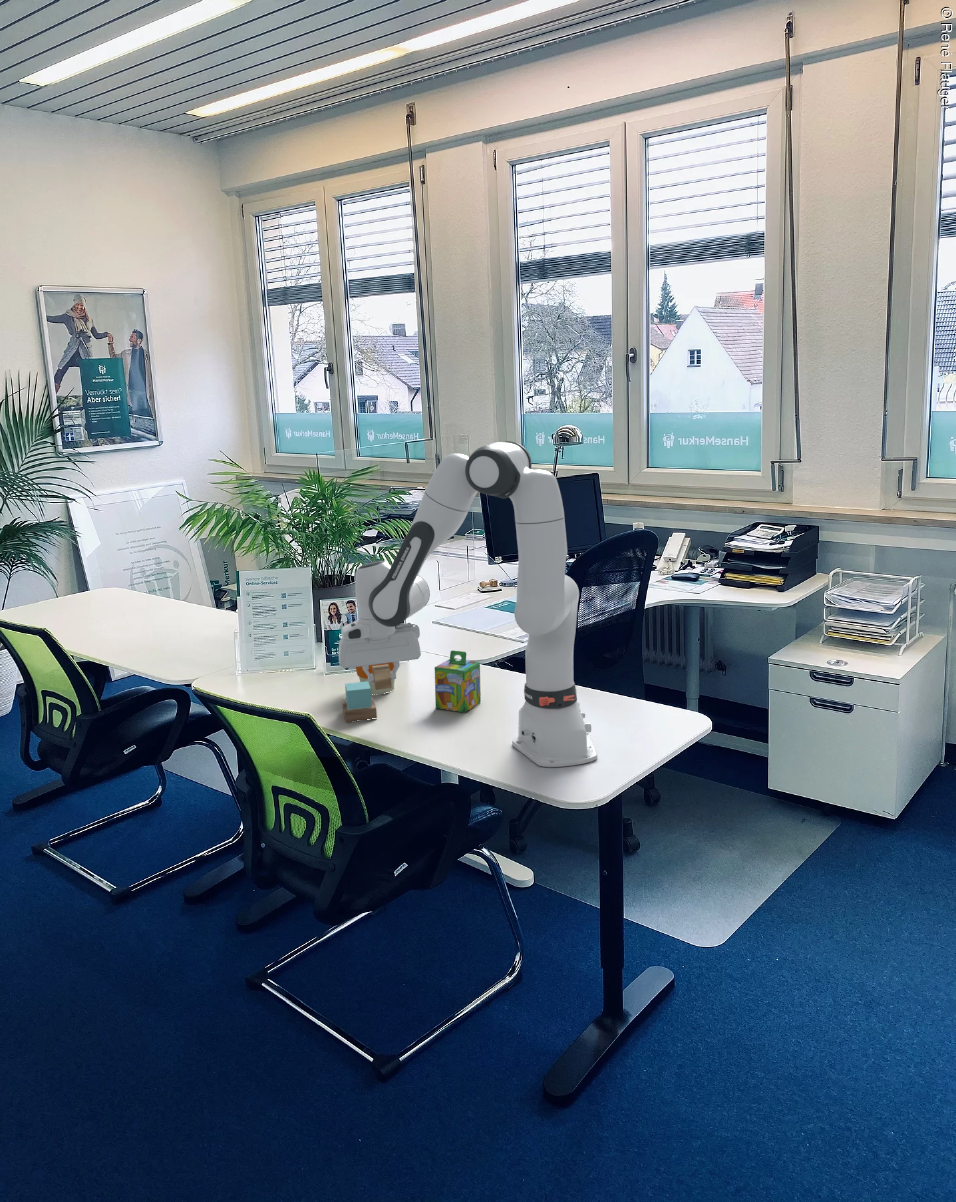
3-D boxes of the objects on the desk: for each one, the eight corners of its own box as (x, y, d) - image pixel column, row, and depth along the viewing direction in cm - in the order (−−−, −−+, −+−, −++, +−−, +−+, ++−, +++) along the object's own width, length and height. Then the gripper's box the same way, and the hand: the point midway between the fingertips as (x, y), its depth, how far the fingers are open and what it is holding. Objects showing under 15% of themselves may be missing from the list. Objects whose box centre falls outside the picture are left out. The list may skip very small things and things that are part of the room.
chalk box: (434, 709, 251) (432, 655, 248) (452, 698, 259) (449, 645, 255) (465, 714, 247) (463, 658, 243) (482, 702, 255) (480, 649, 251)
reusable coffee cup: (406, 693, 265) (403, 640, 261) (362, 700, 260) (358, 647, 257) (393, 680, 276) (389, 630, 272) (350, 687, 272) (346, 636, 268)
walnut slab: (377, 719, 246) (376, 707, 245) (345, 722, 244) (344, 711, 243) (373, 708, 253) (372, 697, 252) (343, 712, 252) (342, 701, 251)
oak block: (391, 687, 238) (390, 668, 237) (375, 689, 237) (374, 670, 236) (389, 683, 242) (388, 664, 241) (374, 685, 241) (372, 666, 240)
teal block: (371, 706, 246) (370, 688, 244) (348, 709, 244) (347, 690, 243) (369, 699, 251) (368, 681, 250) (346, 701, 250) (345, 683, 249)
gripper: (416, 618, 241) (421, 671, 244) (335, 628, 237) (340, 681, 240) (420, 624, 235) (425, 678, 238) (337, 634, 231) (342, 689, 234)
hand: (382, 680), depth 239 cm, fingers closed on oak block, 4 cm apart
